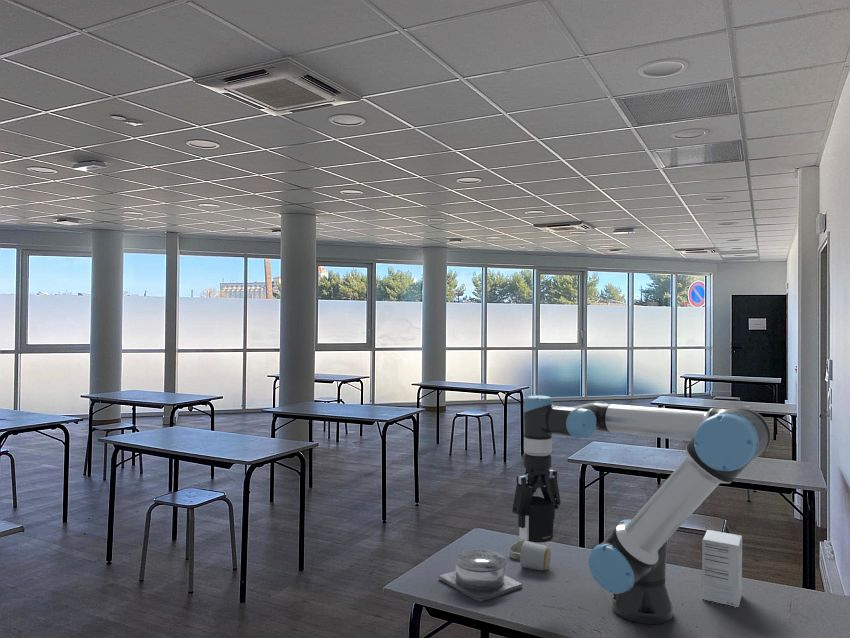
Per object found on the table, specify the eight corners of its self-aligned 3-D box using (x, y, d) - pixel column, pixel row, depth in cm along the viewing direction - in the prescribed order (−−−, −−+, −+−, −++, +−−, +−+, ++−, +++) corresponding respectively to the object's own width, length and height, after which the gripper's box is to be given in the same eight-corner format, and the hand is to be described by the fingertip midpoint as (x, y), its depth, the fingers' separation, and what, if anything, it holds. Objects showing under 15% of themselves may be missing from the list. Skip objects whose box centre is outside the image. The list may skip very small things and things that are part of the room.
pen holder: (519, 542, 166) (519, 504, 166) (519, 530, 175) (519, 495, 175) (555, 544, 164) (555, 506, 164) (553, 532, 174) (553, 496, 174)
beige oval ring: (534, 552, 204) (534, 537, 205) (540, 560, 198) (540, 544, 198) (506, 554, 203) (507, 538, 203) (512, 561, 197) (512, 545, 197)
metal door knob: (522, 588, 177) (522, 562, 177) (479, 602, 168) (479, 575, 168) (480, 567, 192) (480, 543, 192) (439, 579, 182) (439, 555, 182)
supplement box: (706, 587, 178) (706, 528, 178) (742, 595, 173) (742, 534, 173) (701, 600, 170) (701, 538, 170) (738, 608, 165) (739, 545, 165)
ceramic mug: (546, 575, 186) (546, 549, 186) (519, 570, 189) (519, 545, 190) (553, 563, 196) (553, 538, 196) (527, 558, 199) (528, 534, 199)
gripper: (554, 445, 179) (553, 524, 179) (498, 455, 166) (497, 539, 166) (574, 450, 173) (573, 531, 173) (519, 460, 160) (518, 548, 160)
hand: (536, 535), depth 170 cm, fingers closed on pen holder, 9 cm apart
